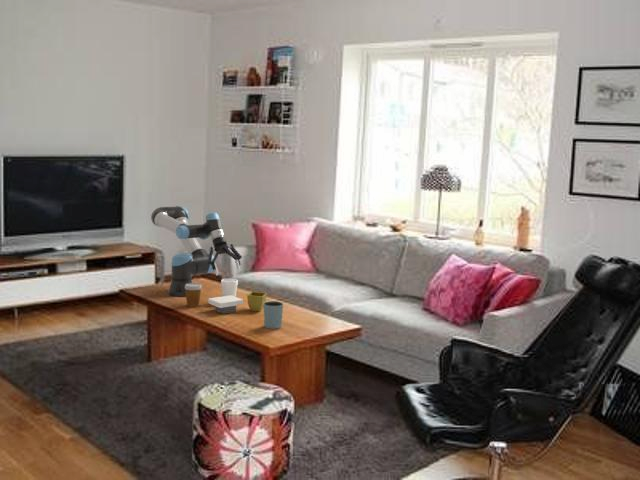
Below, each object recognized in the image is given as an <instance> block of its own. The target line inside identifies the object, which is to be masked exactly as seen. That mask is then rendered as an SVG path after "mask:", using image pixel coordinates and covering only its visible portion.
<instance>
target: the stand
mask: <svg viewBox="0 0 640 480" xmlns="http://www.w3.org/2000/svg"><path fill="white" fill-rule="evenodd" d="M214 309H215V311H216V312H218V313H221V314H229V313H235V312H237V305H236V306H230V307H223V308H219V307H216V306H215V308H214Z"/></svg>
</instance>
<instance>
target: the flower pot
mask: <svg viewBox="0 0 640 480" xmlns="http://www.w3.org/2000/svg"><path fill="white" fill-rule="evenodd" d="M246 297H247V305H248V307H249V310H250V311H252V310H253V312H254V311H255V312H261V310H263V309H264V308H263V303H265V302H267V292H258V291H251V292H249V293H248V294H247V295H246Z"/></svg>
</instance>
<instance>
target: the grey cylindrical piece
mask: <svg viewBox="0 0 640 480" xmlns="http://www.w3.org/2000/svg"><path fill="white" fill-rule="evenodd" d="M283 308H284V303H283V302H281V301H276V300H275V301H273V300H271V301H265V303H263V308H262V309H263V319H264V321H263V322H264V323H263V325H264V327H265V328H266V329H269V330H279V329H281V328H282V323H283V320H282V319H283V314H284V313H283V312H284V311H283V310H284V309H283Z"/></svg>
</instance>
